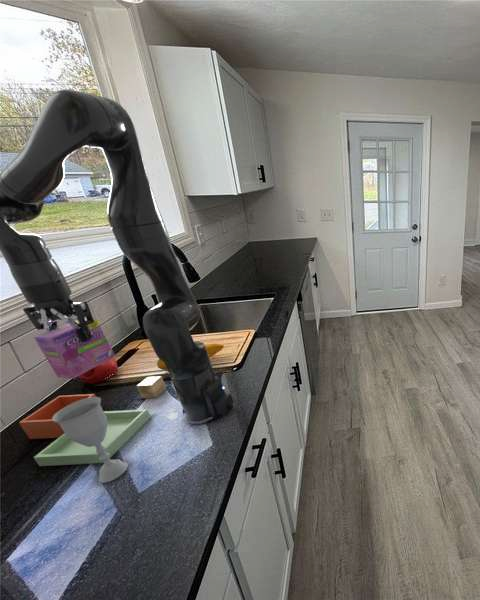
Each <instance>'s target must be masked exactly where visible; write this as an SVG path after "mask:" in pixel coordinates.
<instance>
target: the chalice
mask: <svg viewBox="0 0 480 600" xmlns="http://www.w3.org/2000/svg"><path fill="white" fill-rule="evenodd" d="M101 402H102V398H101V397H99V396H96V397H90V398H85V399H82V400H79V401H76V402H74V403H72V404H70V405H68V406H66V407H64V408H62V409H61V410H59V411H58V412H57V413H56V414H54V416H53V417H52V421H55V422H57V423H59V424H60V426H61V428H62V429H63V431H64V432H65V434H66V436H67V437H68V438H69V439H71V440H73V441H75V442H77V443H79V444H82V445H84V446H87V447H93V446H95V447H96V453H98V454H100V458H99V460H103V461H104V463H103V464H102V465H101V467H100V468H99V472H98V482H99V483H103V484H105V483H109V482H111V481H115V480H116V479H117V478H119V477H121V476H122V475H123V474H124V473H126V471H127V470H128V467H129V464H128V463H127V462H124V461H123V460H121V459H118V458H117V459H116V458H114V459H111V458H110V459H109V455H110V453H106V452H105V449H106V447H103V446H102V445H101V442H102V441H103V440H104V439H105V435H106V431H107V417H106V415H105V413H104V409H103V407H102V405H101ZM100 405H101V406H100ZM101 407H102V408H101ZM102 409H103V410H102Z"/></svg>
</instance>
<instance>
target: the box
mask: <svg viewBox="0 0 480 600" xmlns="http://www.w3.org/2000/svg"><path fill="white" fill-rule="evenodd" d="M93 319H94V322H93V323H91V324H89V325H88V329H89V331H90V333H91V334H92V339H91V340H89V341H88V342H81V340H80V338H79V336H78V334H77V333H76V331H75V330H77V329H75V328H74V327H73V326H72V325H70V324H67V323H65V324H64V325H61V326H59V327H58V328H56V329H54V330H51V331H49V332H46V331H45V332H44V333H40V334H39V335H36V336H33V339H34V340H35V342H36V344H37V346H38V347H39V349H40V350H41V352H42V354H43V355H44V357H45V359H46V360H47V362H48V364H49V365H50V367H51V369H52V371H53V372H54V374H55V376H56V377H57V378H62V379H69V380H70V379H71V380H75V379H76V378H79V377H78V376H79V375H81V374H83V373H85V372H87V371H89V370H91V369H92V368H94V367H96V366H98V365H100V364H101V363H103V362H105V361H107V360H109V359H111V358H115V357H116V354H115V352H114V351H113V348H112V346H111V344H110V342H109V341H108V338H107V336H106V335H105V333H104V330H103V328H102V326H101V324H100V323H99V320H98V319H97V318H93ZM85 320H87V319H86V317H85ZM75 322H77V323H78V324H79V321H77V320H75Z"/></svg>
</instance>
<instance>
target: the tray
mask: <svg viewBox="0 0 480 600" xmlns="http://www.w3.org/2000/svg"><path fill="white" fill-rule="evenodd" d="M103 411H104V410H103ZM104 413H105V415H106V417H107V431H106V435H105V439H104V440H103V441H102V442H101V445H102V446H103V447H106V449H105V452H106V453H110V455H109V459H110V460H111V458H112V457H113V456H114V455H115V454H116V453H117V452H118V451H119V450H120V449H121V448H122V447H123V446H124V445H125V444H126V443H127V442H128V441H130V439H131V438H132V437H133V436H134V435H135V434H136V433H137V432H138V431H139V430H140V429H141V428H142V427H143V426H144V425H145V424H146V423H147V422H148V421H150V419H151V418H152V416H151V413H150V412H149V410H148V409H147V408H143V409H125V410H105V411H104ZM99 458H100V454H98V453H96V447H95V446H93V447H87V446H84V445H82V444H79V443H77V442H75V441H73V440H71V439H69V438H68V437H67V436H66V434H65V433H64V434H63V435H61V436H60V437H59V438H55V440H53V441H52V442H51V443H50V444H49V445H47V446H46V447H45V448H44V449H42V450H41V451H39V452H38V453H37V454H36V455H34V456H33V459H34V460H35V462H36V464H37V466H38V467H50V466H51V467H52V466H69V465H71V466H72V465H86V464H90V465H91V464H104V461H103V460H99Z"/></svg>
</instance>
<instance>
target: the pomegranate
mask: <svg viewBox="0 0 480 600" xmlns="http://www.w3.org/2000/svg"><path fill="white" fill-rule="evenodd" d="M117 371H119V367H118V363H117V360H116V359H115V357H112V358H111V359H109V360H107V361H105V362H103V363H101V364H100V365H98V366H96V367H94V368H92V369H91V370H89V371H87V372H85V373H83V374H81V375H79V376H78V377H77V378H78V379H79V380H81V381H82V382H84V383H86V384H99V383H102V382H105V381H108V380H109V379H110V378H112V377H114V376H115V375H117V373H118V372H117ZM116 372H117V373H116ZM112 374H113V375H112ZM110 375H111V376H110ZM109 376H110V377H109ZM107 377H108V378H107ZM105 378H106V379H105Z"/></svg>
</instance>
